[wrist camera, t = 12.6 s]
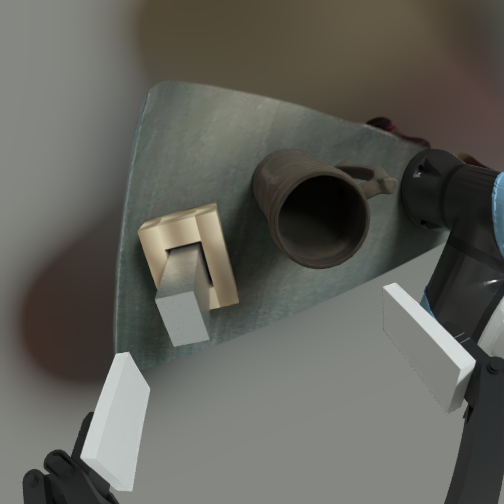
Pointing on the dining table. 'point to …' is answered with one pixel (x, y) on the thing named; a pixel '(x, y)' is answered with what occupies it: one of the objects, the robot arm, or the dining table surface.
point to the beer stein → (317, 205)
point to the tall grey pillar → (185, 295)
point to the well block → (185, 232)
